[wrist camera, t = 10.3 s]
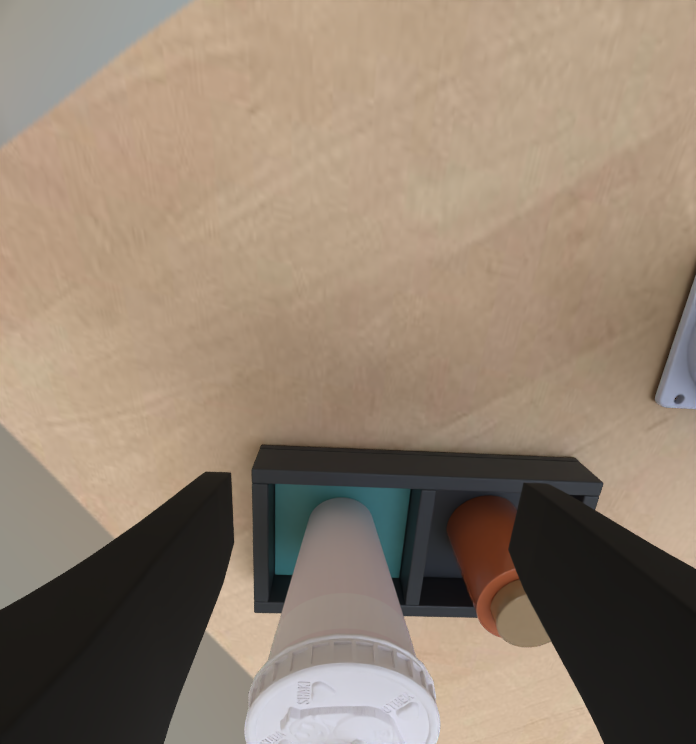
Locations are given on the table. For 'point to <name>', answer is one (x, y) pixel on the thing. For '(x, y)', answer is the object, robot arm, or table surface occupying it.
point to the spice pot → (493, 570)
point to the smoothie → (342, 647)
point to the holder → (391, 511)
